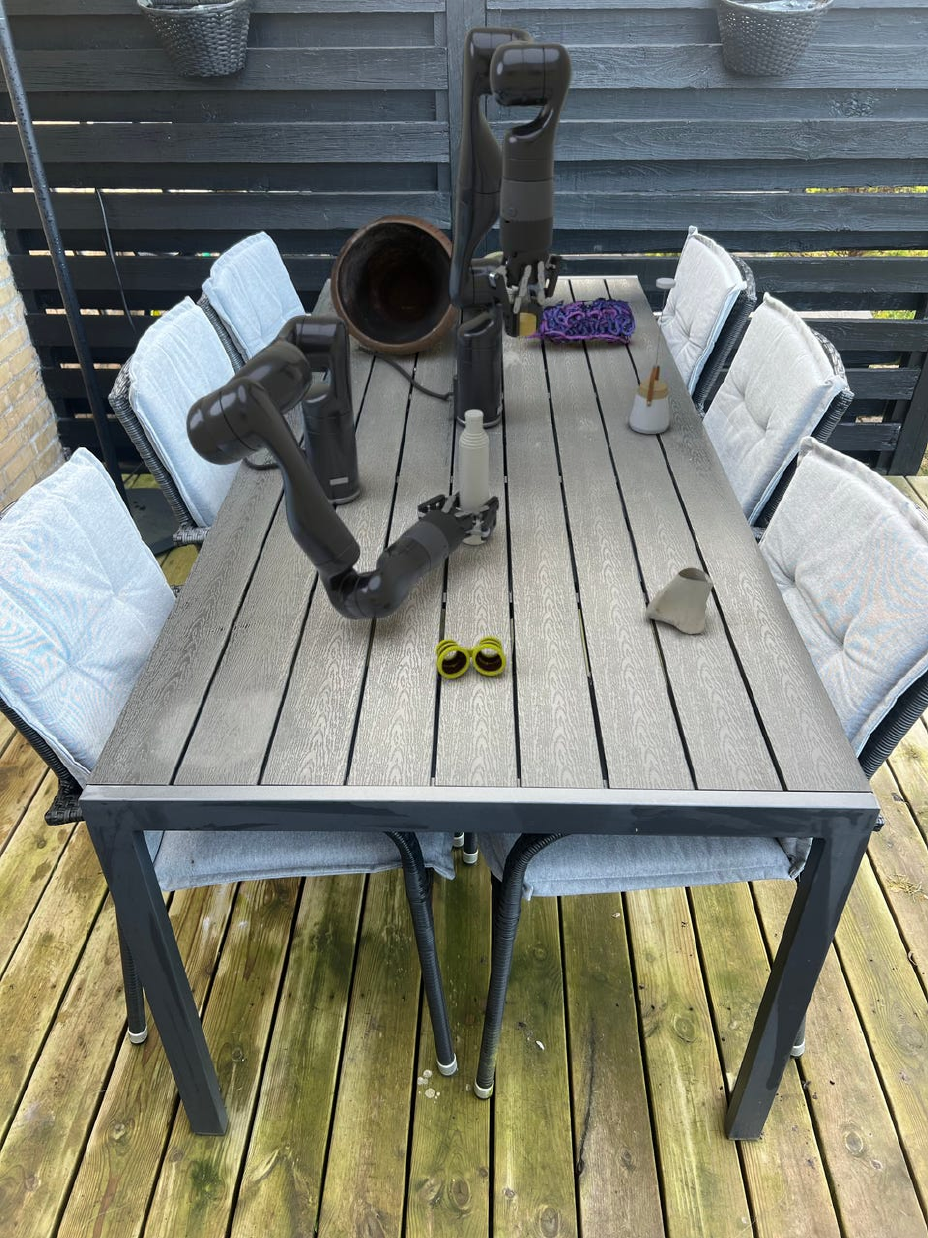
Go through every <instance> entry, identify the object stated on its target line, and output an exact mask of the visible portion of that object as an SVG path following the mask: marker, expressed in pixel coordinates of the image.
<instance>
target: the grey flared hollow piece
mask: <svg viewBox="0 0 928 1238" xmlns="http://www.w3.org/2000/svg"><path fill="white" fill-rule="evenodd" d="M714 584H715V583H714V581H713V579H712V578H711V576H709V575H708V573H706V572H705V571H704V570H702V569H700V568H696V567H693V566H692V567H686V568H683V569H681V570H680V571H678V573H677V574H676V575H675V576H674V577H673V578H672V579H671V580H670V582H668V584H667V585H666V586H665V587H664V588H662V589H661V590H660V589H659V590H658V591H657V592H656V595H655V596H654V597H653V598H652V600H651V601H650V602H649V603H648V604H647V608H646V609H645V610H646V611H645V616H646V617H647V618H649V619H650V620H656V621H662V622H663V623H667V624H668V625H672V626H674V627H675V628H677V629H678V630H679V631H680V632H683V633H685V634H688V635H692V634H693V635H694V634H695V635H696V634H701V633H702V632H703V631H704V629H705V627H706V611H707V608H708V607H707V602H708V599H709V597H710V594H711V592H712V589H713V587H714Z"/></svg>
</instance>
